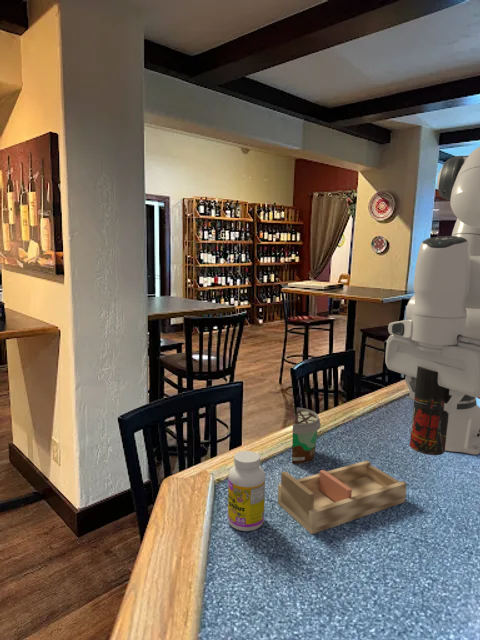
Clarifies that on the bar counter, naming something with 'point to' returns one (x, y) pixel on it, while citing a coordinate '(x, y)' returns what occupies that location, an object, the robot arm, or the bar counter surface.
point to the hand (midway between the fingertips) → (431, 406)
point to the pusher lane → (324, 513)
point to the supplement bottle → (246, 492)
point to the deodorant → (429, 414)
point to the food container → (304, 436)
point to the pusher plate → (333, 487)
